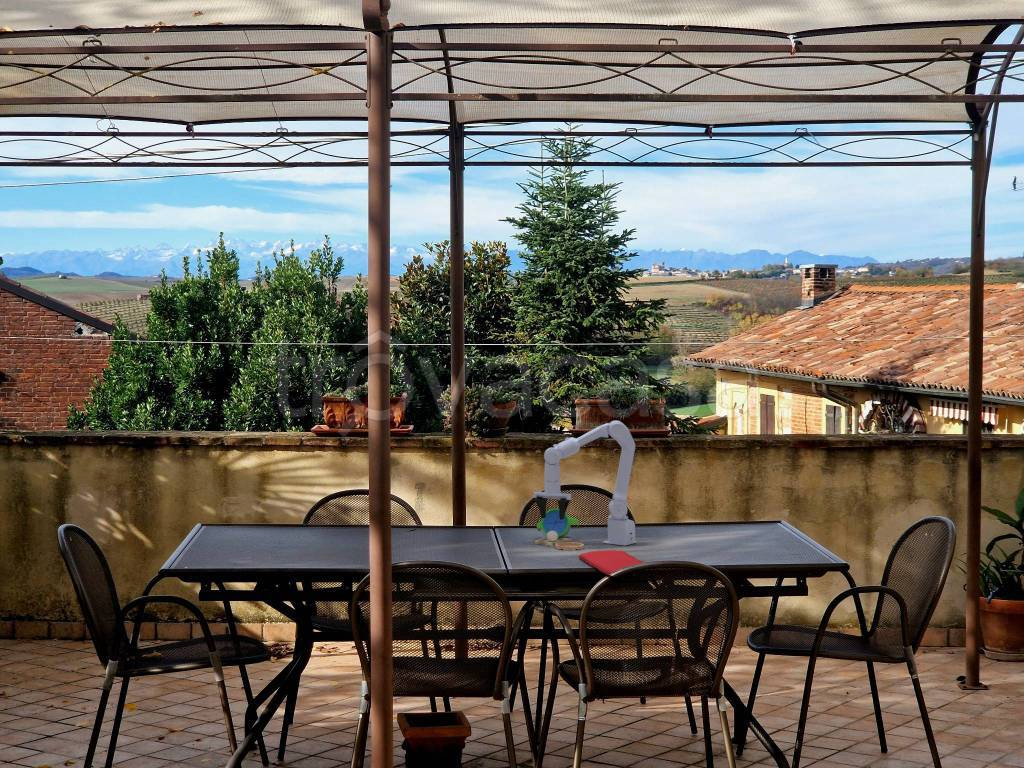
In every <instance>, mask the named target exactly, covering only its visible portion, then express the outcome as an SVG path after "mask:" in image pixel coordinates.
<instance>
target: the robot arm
mask: <svg viewBox="0 0 1024 768" xmlns="http://www.w3.org/2000/svg"><path fill="white" fill-rule="evenodd" d="M609 436H610V437H611V438H612V439H613V440H615V441H616V442H617V443H618V444H619V446H620V447H621V451H620V457H619V462H618V468H617V475H616V480H615V484H614V486H615V487H614V490H613V494H612V499H611V500H610V501H609V502H608V503H609V504H608V508H607V509H608V512H609V516H607V540H605V541H602V543H603V544H610V545H617V546H618V545H620V546H627V545H628V546H629V545H632V544H636V543H637V541H636V523H635V521H634V520H632V519H629V516H628V507H627V501H628V490H629V484H630V478H631V473H632V467H633V461H634V456H635V450H636V443H635V441H634V438H633V436H632V434H631V432H630V430H629V428H628V427H627V426H626V425H625V424H624V423H623V422H621V420H612V421H610V422H607V423H604V424H601V425H599V426H597V427H595V428H593V429H592V430H590V431H588V432H585V433H584V434H583V435H581V436H579V437H577V438H575V437H573V436H572V437H566V438H564V440H563V441H561V442H559V443H557V444H556V443H555V444H553V445H552V446H553V447H549V448H547V449H546V450H545V451H544V454H543V458H544V461H545V462H544V472H543V474H544V476H543V477H544V479H543V480H544V481H543V482H544V491H534V492H533V498H534V502H535V504H536V505H537V508H538V511H539V513H540V519H542V518H546V512H547V504H548V499H554V500H555V499H556V500H557V505H558V509H559V518H560V520H562V519H564V516H565V513H567V512H566V511H567V509H568V506H569V505H570V503H571V500H572V494H571V493H565V492H564V493H563V492H561V468H560V461H561V460H562V459H563V460H564V459H566V458H569V457H570V456H572V455H574V454H576V453H578V452H579V451H580V449H581V447H582V446H584V445H586V444H589V443H590V442H593V441H595V440H597V439H599V438H609Z"/></svg>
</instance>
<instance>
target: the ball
mask: <svg viewBox="0 0 1024 768" xmlns="http://www.w3.org/2000/svg"><path fill="white" fill-rule="evenodd" d="M546 538H547V539H548V540H549V541H551V542H554V541H556V540H557V538H558V534H557V533H556V532H555V531H549V532H548V534H546Z"/></svg>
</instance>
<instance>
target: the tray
mask: <svg viewBox="0 0 1024 768" xmlns="http://www.w3.org/2000/svg"><path fill="white" fill-rule="evenodd" d="M562 542H572V538H566V537H558V538H557V540H556V541H554V542H551V541H549V540H548V539H547V537H544V538H540V539H539V538H538V539H535V540H533V545H539V544H541V545H542V546H547V545H549V546H548V547H555V544H557V543H562ZM541 545H540V546H541Z"/></svg>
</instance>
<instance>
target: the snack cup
mask: <svg viewBox="0 0 1024 768" xmlns="http://www.w3.org/2000/svg"><path fill="white" fill-rule="evenodd" d="M572 525H577V527H579V525H580V524H579V518H578V519H577V518H574V517H570V516H568V514H567V512H565V516H564V519H562V520H560V518H559V508H552V509H549V510H546V518H541V520H540V521H538V522H537V523H536V529H537V531H538V532H541V530H542V531H543V532H544V533H545V534H546V535H547V534H548V532H549V531H555V532H556V533H557V534H558V537H559V538H564V537H566V536H567V535H568V534H569V533H570V531H571V526H572Z"/></svg>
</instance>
